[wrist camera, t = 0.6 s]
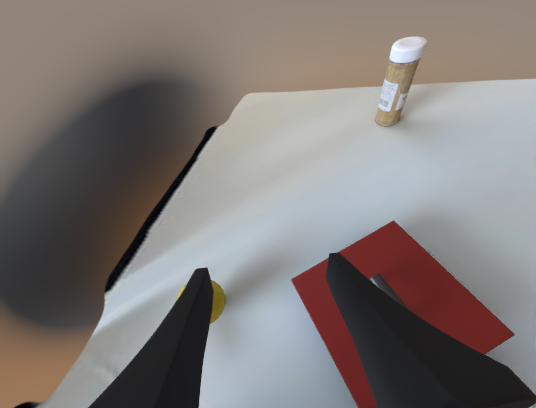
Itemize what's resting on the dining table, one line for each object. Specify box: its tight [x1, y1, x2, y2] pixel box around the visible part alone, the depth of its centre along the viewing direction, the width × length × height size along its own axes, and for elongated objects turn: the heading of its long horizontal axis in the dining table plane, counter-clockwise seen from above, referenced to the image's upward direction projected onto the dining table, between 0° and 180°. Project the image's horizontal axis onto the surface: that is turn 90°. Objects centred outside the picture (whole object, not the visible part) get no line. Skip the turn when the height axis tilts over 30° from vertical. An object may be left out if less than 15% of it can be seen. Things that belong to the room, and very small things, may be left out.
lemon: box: [177, 280, 225, 323], centre depth 25 cm, size 6×6×8 cm
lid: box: [291, 221, 514, 408], centre depth 20 cm, size 15×14×4 cm
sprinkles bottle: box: [375, 36, 427, 126], centre depth 35 cm, size 5×5×14 cm
